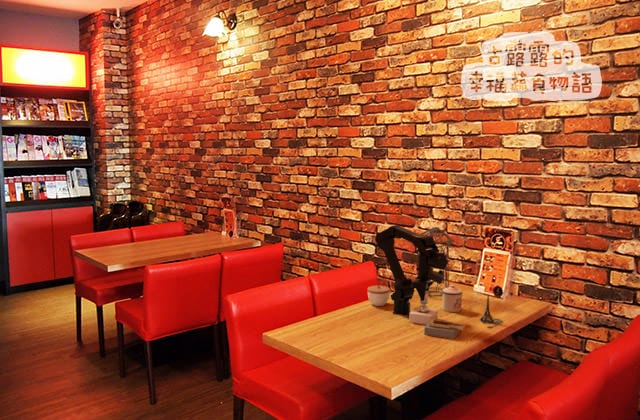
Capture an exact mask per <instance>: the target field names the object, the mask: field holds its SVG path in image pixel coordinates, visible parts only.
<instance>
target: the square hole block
mask: <svg viewBox="0 0 640 420" xmlns="http://www.w3.org/2000/svg"><path fill="white" fill-rule="evenodd" d="M408 314H409V316H408V318H409V319H408V321H409V322H408V323H412V324H413V323H414V324H420V325H425V326H426V325H427V324H428V323H429V318H430V317H431V316H432V315H437V320H439V310H438V309H435V308H428V310H427V313H420V306H415V307H414V308H413V309H412V310H410V312H409V313H408Z"/></svg>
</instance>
